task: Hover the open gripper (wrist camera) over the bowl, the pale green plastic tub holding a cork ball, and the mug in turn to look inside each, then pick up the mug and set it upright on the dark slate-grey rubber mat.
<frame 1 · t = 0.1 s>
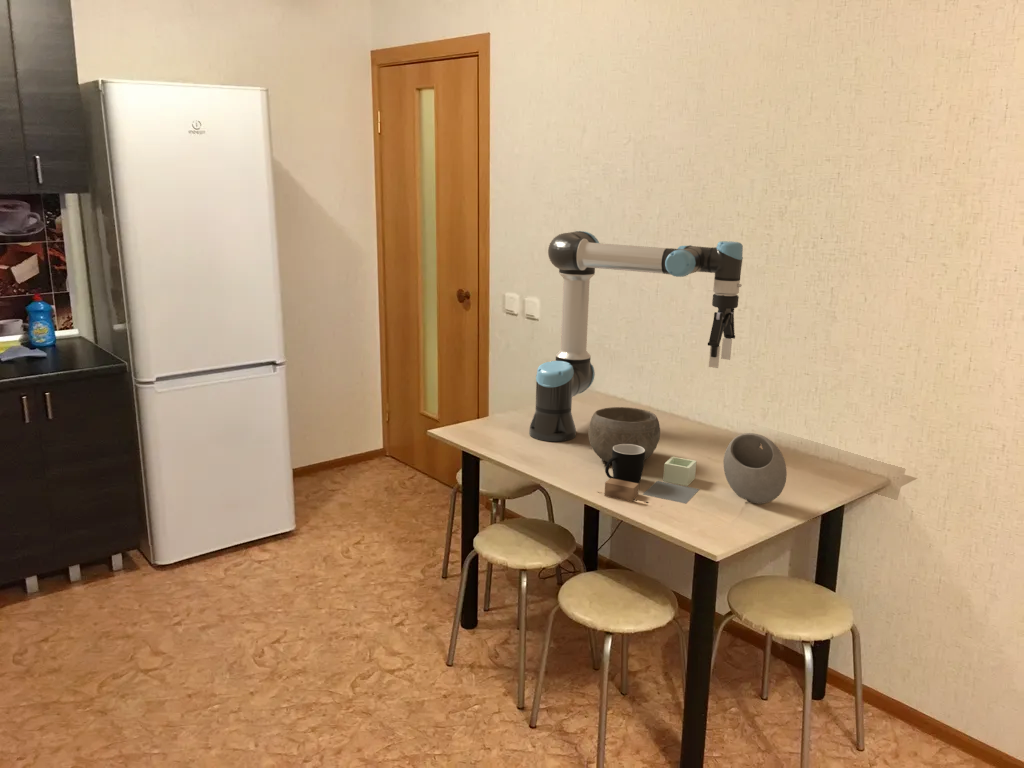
hand: (719, 363, 259), 28 cm above the table, fingers open, 13 cm apart
walnut block: (621, 497, 227), on the table
tub: (678, 482, 238), on the table
cork ball: (679, 479, 238), point 1 cm above the table, touching tub
planter: (750, 502, 225), on the table
coaster mat: (671, 494, 229), on the table
mug: (622, 485, 235), on the table
bowl: (622, 462, 254), on the table
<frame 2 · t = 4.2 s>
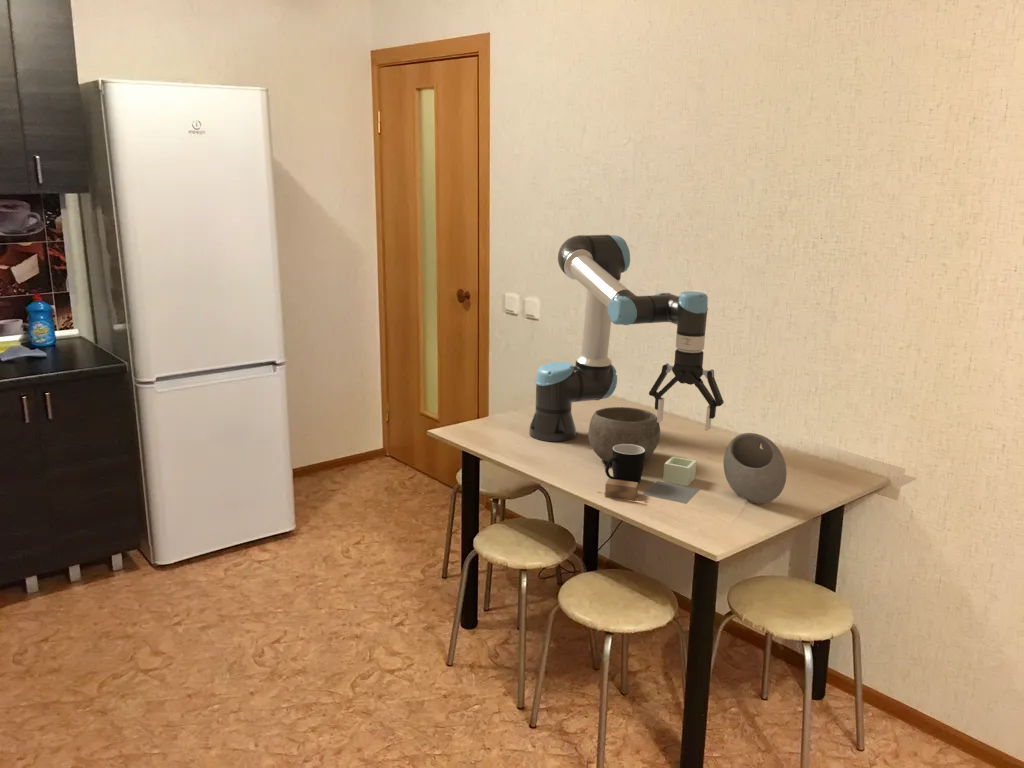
hand: (683, 425, 234), 17 cm above the table, fingers open, 13 cm apart
nothing on the table moved.
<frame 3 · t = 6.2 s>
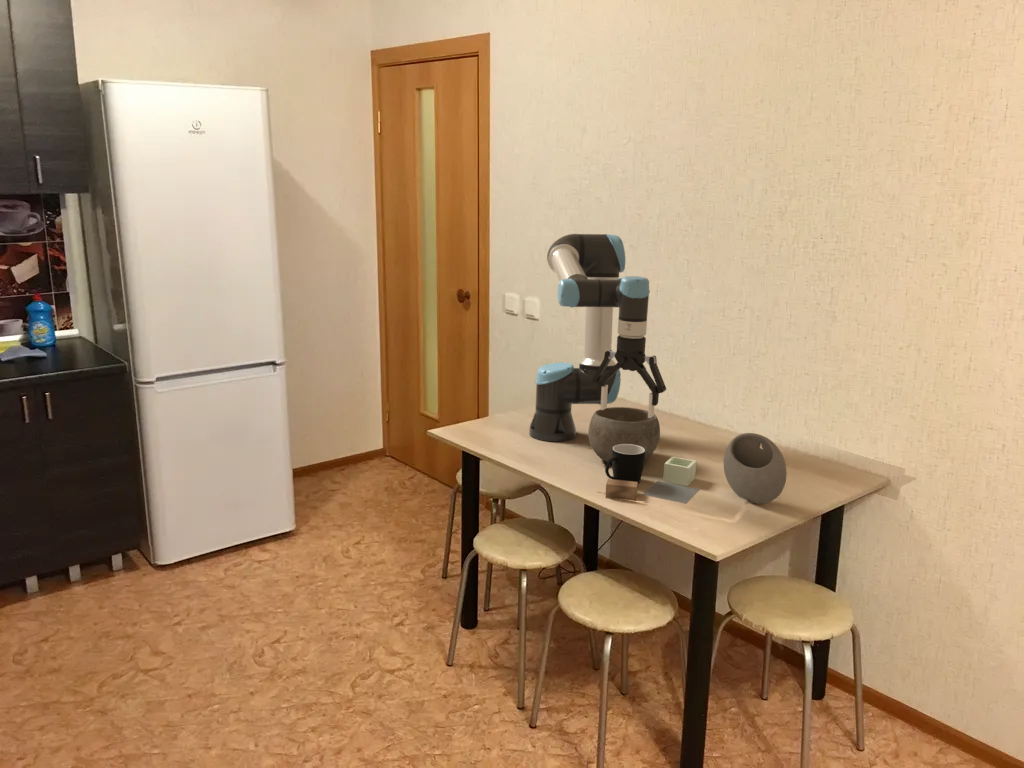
hand: (626, 412, 230), 21 cm above the table, fingers open, 13 cm apart
nothing on the table moved.
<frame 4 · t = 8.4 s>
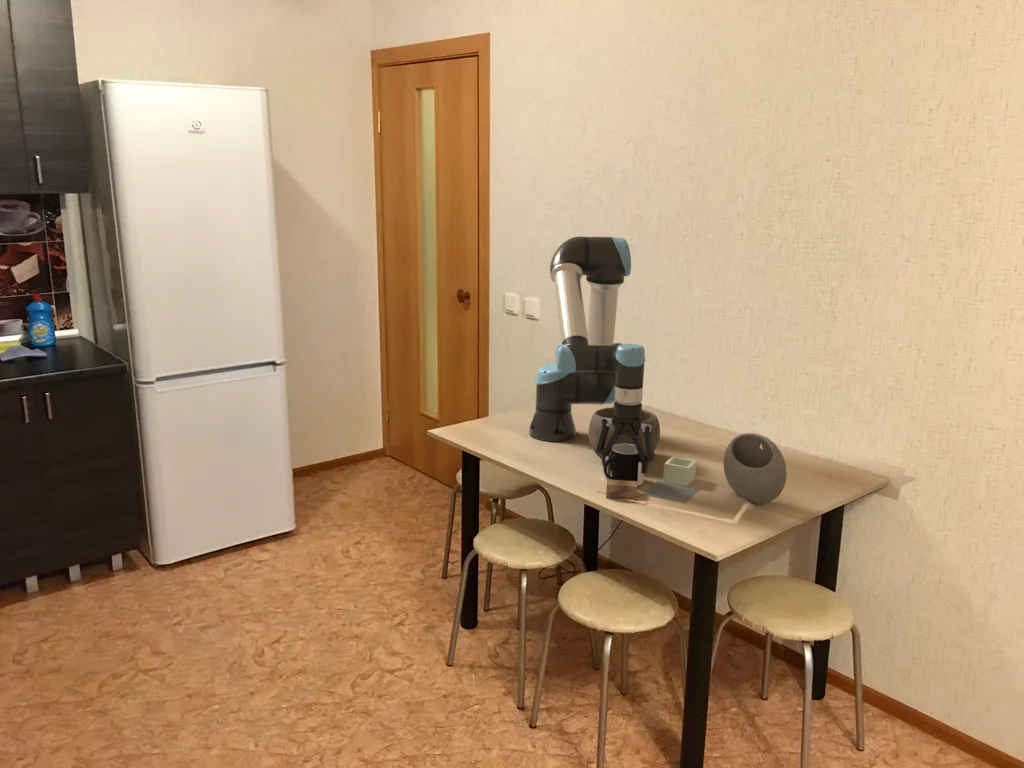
hand: (623, 480, 234), 1 cm above the table, fingers closed on mug, 9 cm apart
mug: (620, 484, 235), on the table, touching gripper
everything else where it was.
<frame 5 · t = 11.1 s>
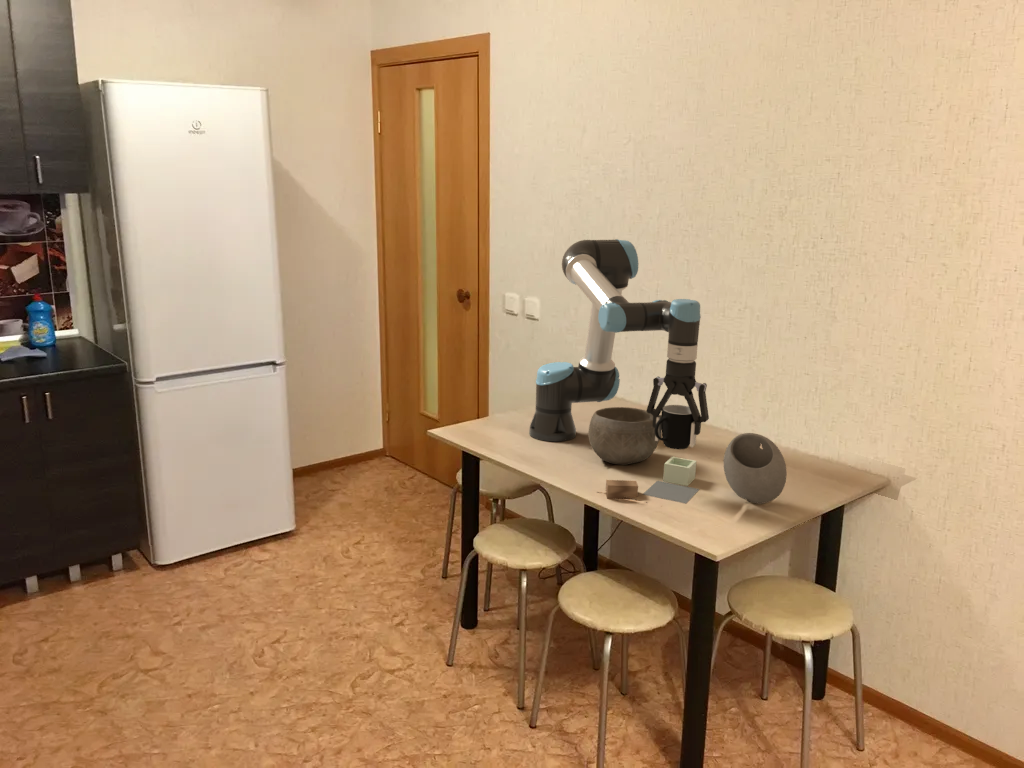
hand: (675, 442, 225), 15 cm above the table, fingers closed on mug, 9 cm apart
mug: (671, 447, 226), point 13 cm above the table, touching gripper
when the fingers open (3 cm above the table, at t = 13.5 s): mug drops 1 cm, resting on coaster mat.
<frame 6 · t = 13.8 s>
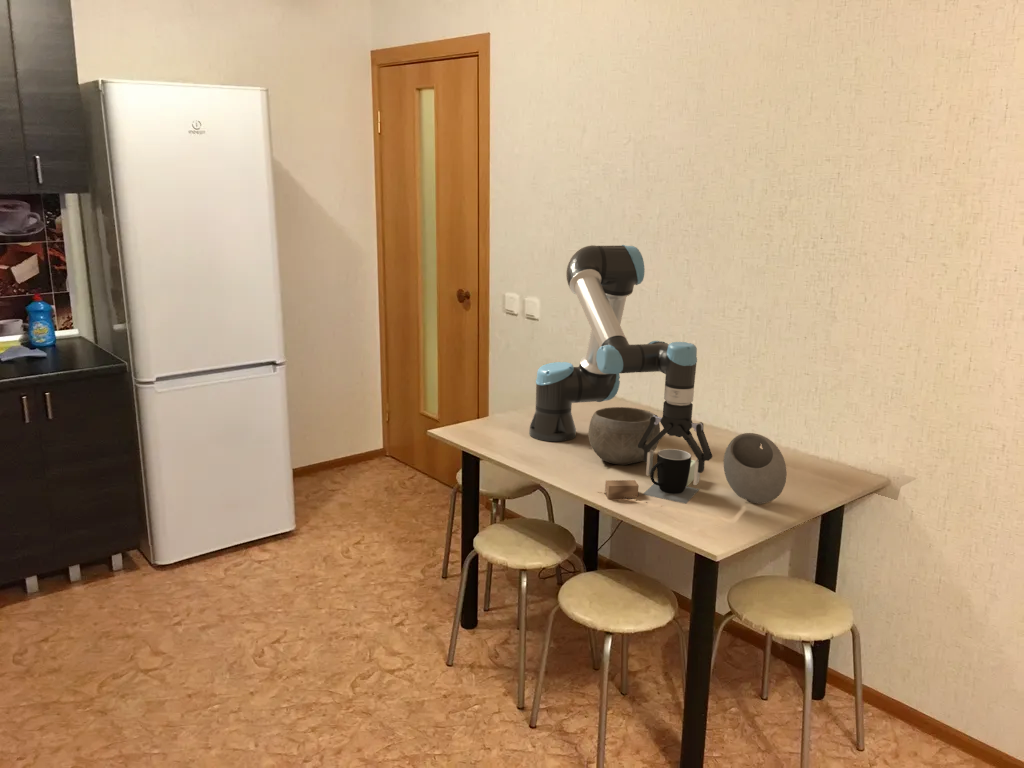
hand: (672, 478, 228), 5 cm above the table, fingers open, 12 cm apart
mug: (667, 491, 229), point 1 cm above the table, touching coaster mat
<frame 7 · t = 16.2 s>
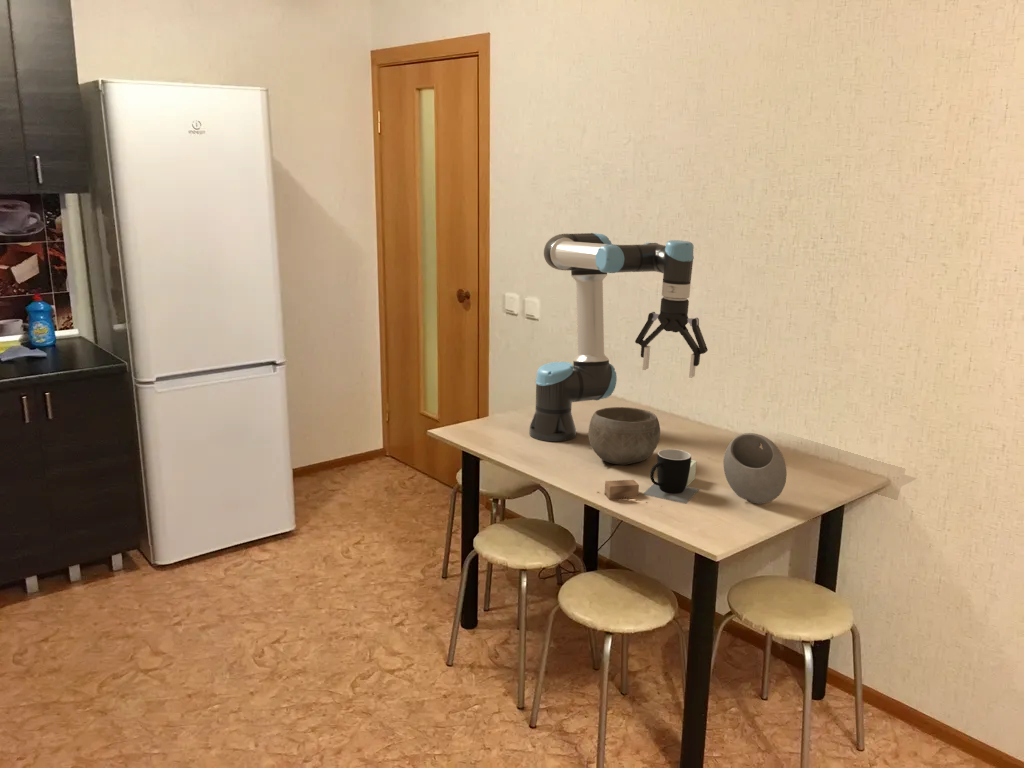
hand: (668, 372, 238), 29 cm above the table, fingers open, 13 cm apart
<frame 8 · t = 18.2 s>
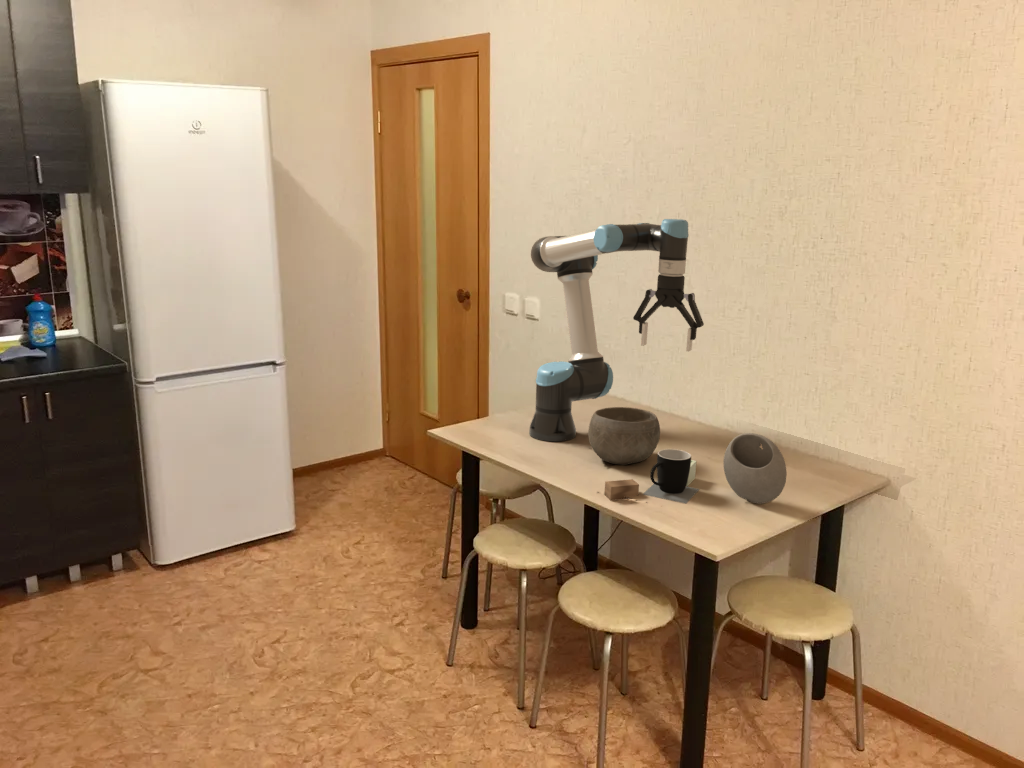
hand: (666, 347, 246), 35 cm above the table, fingers open, 13 cm apart
at the end: mug inside the target area on the coaster mat (1.2 cm from its centre), point 0.6 cm above the coaster mat's base; mug tilted 0°; the gripper is holding nothing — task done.
